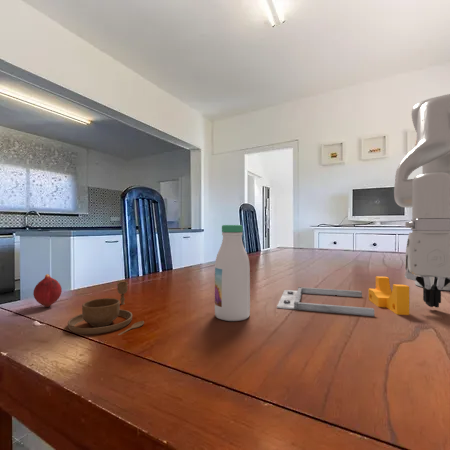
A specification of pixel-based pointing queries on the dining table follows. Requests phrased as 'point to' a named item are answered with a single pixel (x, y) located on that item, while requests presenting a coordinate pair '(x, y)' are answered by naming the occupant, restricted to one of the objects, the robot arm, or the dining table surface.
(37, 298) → the onion
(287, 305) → the hinge bracket
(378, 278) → the pipe clamp
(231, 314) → the milk bottle
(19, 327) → the dining table surface
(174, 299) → the dining table surface
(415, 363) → the dining table surface
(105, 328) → the place setting
